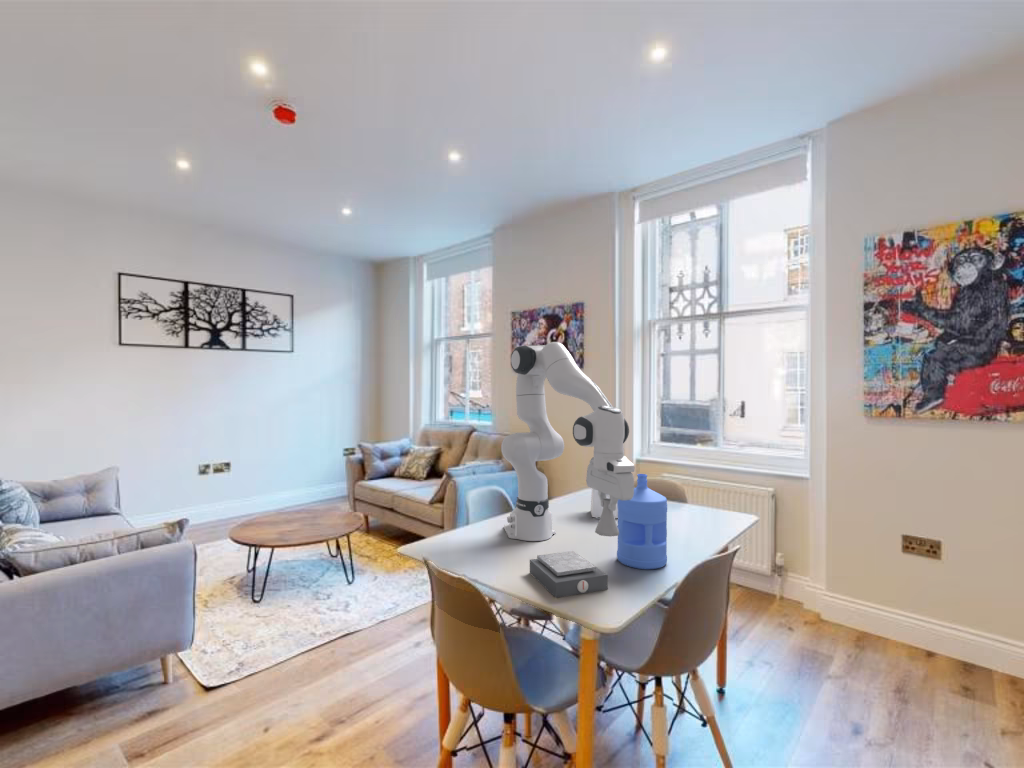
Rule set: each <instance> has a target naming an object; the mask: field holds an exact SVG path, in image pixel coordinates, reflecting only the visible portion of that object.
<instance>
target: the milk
mask: <svg viewBox="0 0 1024 768" xmlns="http://www.w3.org/2000/svg"><path fill="white" fill-rule="evenodd" d="M606 498H610V495H607V494H606ZM602 511H603V507H602V506H601V500H600V498H599V495H598V490H595V489H593V488H591V497H590V514H591V518H592V517H601V514H602ZM613 514H614V517H615V518H618V508H617V504H616V510H615V511H613Z"/></svg>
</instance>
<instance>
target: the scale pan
mask: <svg viewBox="0 0 1024 768" xmlns="http://www.w3.org/2000/svg"><path fill="white" fill-rule="evenodd" d="M536 559H538V560H539V561H540V562H542V563H543V564H544V565H545V566H546V567H548V568H549V569H550V570H551V571H552V572H553V573H555V574H556V575H557V576H562V575H569V574H575V573H582V572H589V571H596V567H597V566H596V565H594V564H593V563H591V562H590V561H588V560H587V559H585V558H584V557H583V558H582V556H581V555H580V556H579V554H578V553H577V552H575V551H573V550H570V551H561V552H555V553H554V552H553V553H546V554H539V555H538V554H537V556H536ZM592 564H593V565H592ZM595 566H596V567H595Z"/></svg>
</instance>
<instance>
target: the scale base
mask: <svg viewBox="0 0 1024 768" xmlns="http://www.w3.org/2000/svg"><path fill="white" fill-rule="evenodd" d="M578 555H579V554H578ZM579 556H581V555H579ZM581 557H582V556H581ZM582 558H584V557H582ZM591 564H592V565H594V564H593V563H591ZM594 566H595V567H596V571H589V572H582V573H575V574H569V575H562V576H557V575H556V574H555V573H553V572H552V571H551V570H550V569H549V568H548V567H546V566H545V565H544V564H543V563H542V562H540V561H539V560H538V559H537V558H532V559H529V574H530V575H531V574H532V575H533V576H534V577H535V580H537V581H538V583H540V585H541V586H543V587H544V588H545V589H546V590H547V591H548V592H549V593H550V594H551V595H552V596H553V597H554V598H562V597H568V596H573V595H580V594H587V593H592V592H598V591H605V590H609V589H608V588H609V587H608V585H609V583H608V582H609V580H608V578H609V575H608V574H607V573H606V572H604V571H603V570H601V569H600V568H599V567H597V566H596V565H594ZM532 575H531V576H532ZM533 576H532V577H533ZM534 577H533V578H534Z"/></svg>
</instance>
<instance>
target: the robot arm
mask: <svg viewBox="0 0 1024 768" xmlns="http://www.w3.org/2000/svg"><path fill="white" fill-rule="evenodd" d="M510 365H511V369H512V370H513V372H514V373H517V377H516V386H515V396H516V399H515V400H516V416H517V417H518V419H519V420H520V421H521V422H524V423H525V424H527V426H528V428H529V432H516V433H512V434H508V435H506V436H504V438H503V439H502V441H501V449H500V451H501V455H502V456H503V458H504V459H505V460H506V461H507V462H508V463H510V464H511V466H512V467H513V469H514V470H515V471H514V472H515V473H516V476H517V477H516V479H517V487H518V488H517V491H518V492H517V495H518V496H517V497H516V504H515V508H514V509H513V510H512V511H511V512H510V514H509V516H507V517H506V518H507V523H505V524H504V525H503V529H504V530H505V533H506V536H507V537H508V538H509V539H512V540H521V541H526V542H527V541H528V542H539V541H547V540H548V539H549V540H550V539H551V537H552V536H553V534H554V535H556V532H557V531H556V530H555V529H553V515H552V511H550V510H549V507H550V506H549V505H550V499H549V498H548V493H549V492H548V491H549V489H548V485H549V484H548V481H549V480H548V478H547V476H546V474H545V473H543V472H541V471H540V470H538V468H537V466H536V462H541V461H543V462H544V461H550V460H554V459H556V458H559V457H561V456H562V455H563V453H564V450H565V442H564V438H563V437H562V436H561V434H560V433H558V432H557V431H556V430H555V429H554V427H553V426H552V424H551V423H550V419H549V417H548V412H547V404H546V403H547V402H546V390H545V380H547V382H548V383H549V385H550V386H551V387H552V388H553V390H554V391H555V392H557V393H559V394H562V395H564V396H569V397H572V398H577V399H579V400H581V401H583V402H585V403H587V405H589V407H590V408H591V409H592V412H591V413H588V414H585V415H583V416H579V417H578V418H577V419H575V421H574V423H573V425H572V436H573V439H574V441H575V442H576V443H577V444H578V445H579V446H581V447H585V448H586V447H587V448H588V447H591V448H592V447H593V457H592V458H591V459H590V460H589V463H588V466H587V470H586V476H585V477H586V480H585V481H586V482H585V483H586V485H587V487H588V488H590V489H592V488H593V489H595V490H598V495H599V498H600V500H601V506H602V507H603V505H604V502H603V498H606V494H607V495H610V499H611V500H610V504H608V510H610V511H615V510H616V504H617V502H618V499H620V500H631V499H632V498H633V495H634V488H635V476H634V472H635V464H634V463H633V462H631V461H630V460H629V459H628V458H627V456H625V449H624V444H625V443H626V441H627V439H628V438H629V434H630V426H629V423H628V421H627V419H625V416H624V414H623V411H622V409H621V408H619V407H615V406H613V405H612V403H611V402H610V400H609V399H608V398H607V396H606V395H605V393H603V391H602V390H601V388H600V387H599V386H598V384H597V383H596V382H595V381H594V380H592V379H591V378H590V377H589V376H588V375H586V374H585V373H584V372H583V370H581V369H580V367H579V366H578V364H577V363H576V360H575V359H574V357H573V355H572V354H571V353H570V351H569V350H568V349H567V348H566V347H565V345H564V344H563V343H561V342H559V341H552V342H549V343H546V344H544V345H543V344H540V345H519V346H516V347H515V348H514V349H513V351H512V353H511V355H510Z"/></svg>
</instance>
